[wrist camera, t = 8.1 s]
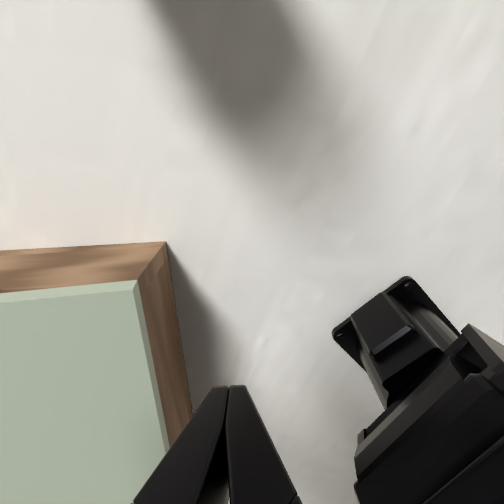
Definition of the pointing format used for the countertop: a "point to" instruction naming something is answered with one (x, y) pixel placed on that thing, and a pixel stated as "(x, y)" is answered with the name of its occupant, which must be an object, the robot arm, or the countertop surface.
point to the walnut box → (115, 270)
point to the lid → (77, 396)
